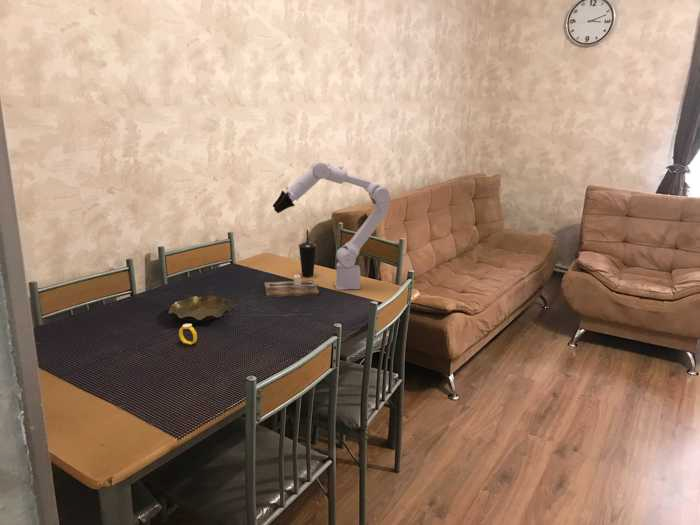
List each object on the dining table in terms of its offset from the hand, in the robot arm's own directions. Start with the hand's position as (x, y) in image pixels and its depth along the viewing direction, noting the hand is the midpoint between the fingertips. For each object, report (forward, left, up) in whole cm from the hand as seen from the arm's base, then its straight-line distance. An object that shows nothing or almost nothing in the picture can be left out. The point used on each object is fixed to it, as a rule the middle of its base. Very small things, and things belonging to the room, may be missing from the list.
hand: (275, 209), depth 209 cm
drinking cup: (-15, -18, -32) cm, 40 cm away
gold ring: (+30, +47, -33) cm, 65 cm away
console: (-6, 0, -32) cm, 33 cm away
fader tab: (-8, 0, -31) cm, 32 cm away
